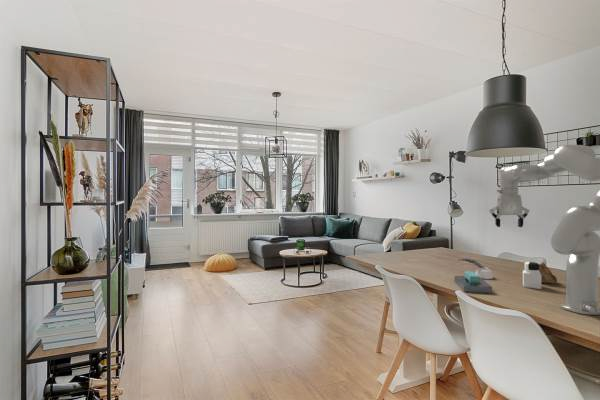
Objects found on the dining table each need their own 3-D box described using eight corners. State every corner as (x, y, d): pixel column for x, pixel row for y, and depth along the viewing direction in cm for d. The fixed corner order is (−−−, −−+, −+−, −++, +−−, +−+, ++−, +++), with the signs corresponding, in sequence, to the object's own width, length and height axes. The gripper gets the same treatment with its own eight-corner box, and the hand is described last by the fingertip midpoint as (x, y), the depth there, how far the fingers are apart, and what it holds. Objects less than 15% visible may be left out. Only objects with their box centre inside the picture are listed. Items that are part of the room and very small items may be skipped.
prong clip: (472, 284, 169) (472, 271, 169) (479, 290, 159) (479, 276, 158) (464, 283, 170) (464, 271, 170) (469, 289, 159) (469, 276, 159)
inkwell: (495, 279, 179) (495, 261, 179) (458, 277, 185) (458, 259, 185) (491, 275, 188) (491, 258, 188) (456, 273, 194) (456, 256, 193)
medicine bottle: (539, 286, 166) (539, 262, 166) (541, 289, 160) (541, 264, 160) (522, 284, 170) (522, 260, 170) (523, 287, 164) (523, 263, 164)
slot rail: (479, 282, 172) (479, 276, 172) (492, 293, 153) (492, 287, 153) (454, 281, 175) (454, 275, 175) (463, 291, 156) (463, 285, 156)
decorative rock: (534, 283, 171) (534, 262, 171) (527, 280, 177) (527, 260, 177) (559, 284, 170) (559, 263, 170) (551, 281, 176) (551, 260, 176)
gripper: (492, 191, 162) (492, 227, 162) (532, 191, 158) (532, 227, 158) (487, 192, 169) (487, 226, 169) (525, 192, 165) (525, 226, 165)
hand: (509, 226), depth 163 cm, fingers open, 9 cm apart
